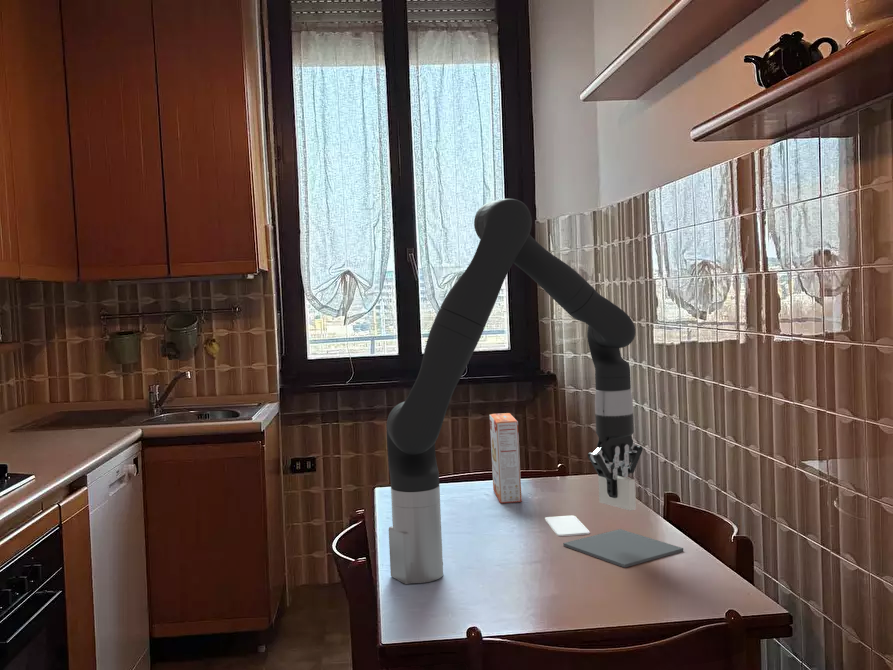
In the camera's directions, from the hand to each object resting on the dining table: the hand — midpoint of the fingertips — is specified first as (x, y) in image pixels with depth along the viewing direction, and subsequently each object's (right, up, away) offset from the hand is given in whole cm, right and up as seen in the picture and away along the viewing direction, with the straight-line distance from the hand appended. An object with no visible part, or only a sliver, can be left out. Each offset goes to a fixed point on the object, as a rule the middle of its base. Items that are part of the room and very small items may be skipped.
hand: (617, 496), depth 174 cm
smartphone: (-8, -11, +19) cm, 23 cm away
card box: (0, -2, 0) cm, 2 cm away
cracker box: (-19, -10, +49) cm, 53 cm away
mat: (+1, -11, +1) cm, 11 cm away
